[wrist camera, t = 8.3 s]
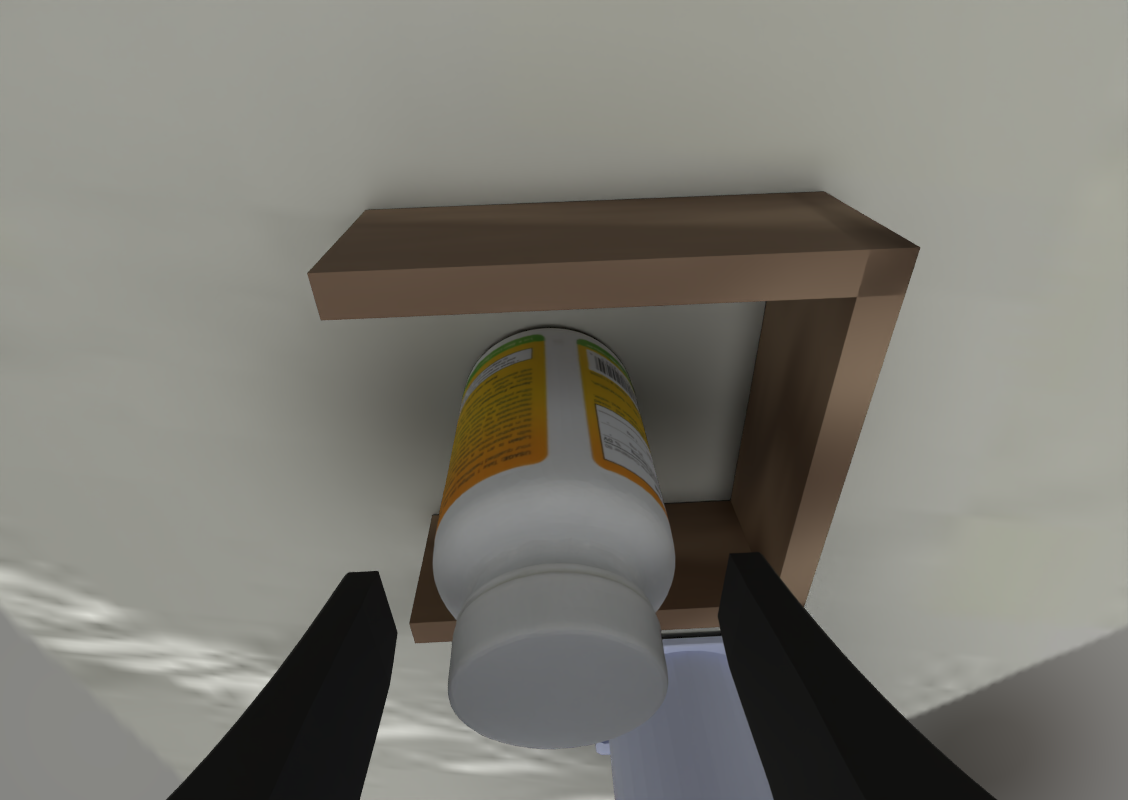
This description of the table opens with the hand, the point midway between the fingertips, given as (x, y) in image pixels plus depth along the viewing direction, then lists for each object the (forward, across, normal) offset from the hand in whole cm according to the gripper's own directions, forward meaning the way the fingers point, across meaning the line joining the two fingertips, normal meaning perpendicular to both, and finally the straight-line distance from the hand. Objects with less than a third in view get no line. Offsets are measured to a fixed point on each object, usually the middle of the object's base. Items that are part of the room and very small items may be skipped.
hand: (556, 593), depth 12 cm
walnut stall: (+8, -2, 0) cm, 8 cm away
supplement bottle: (+8, 0, 0) cm, 8 cm away
